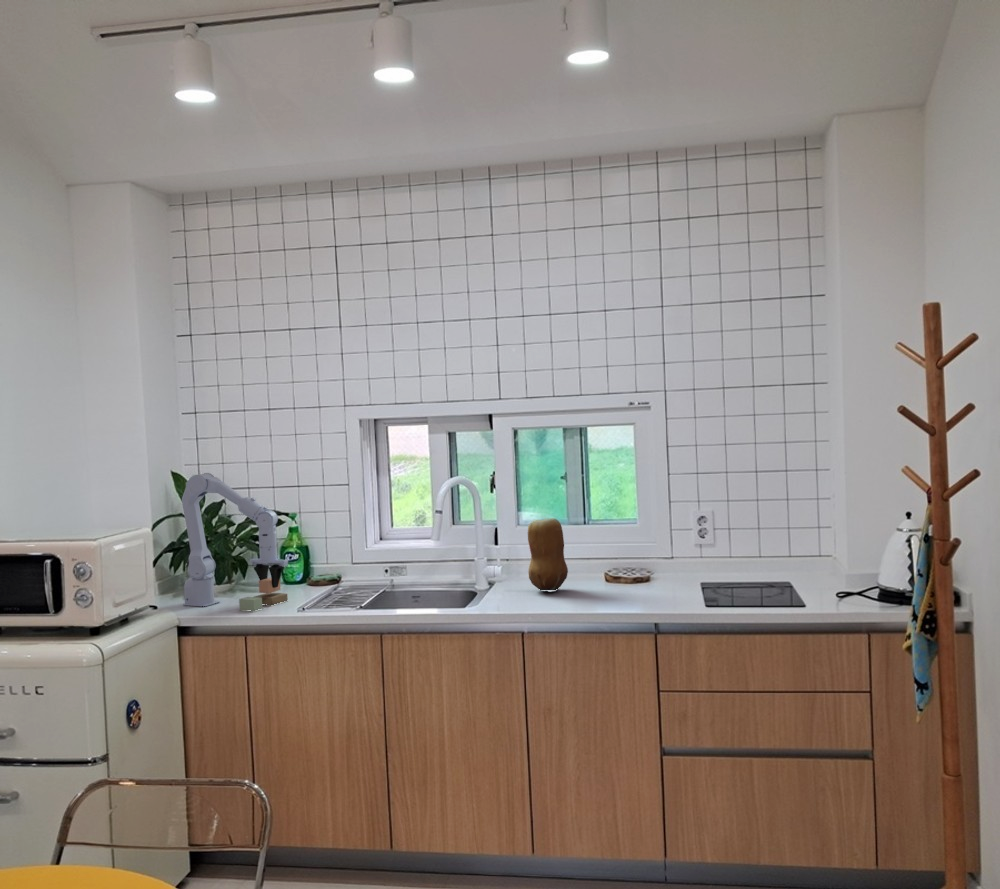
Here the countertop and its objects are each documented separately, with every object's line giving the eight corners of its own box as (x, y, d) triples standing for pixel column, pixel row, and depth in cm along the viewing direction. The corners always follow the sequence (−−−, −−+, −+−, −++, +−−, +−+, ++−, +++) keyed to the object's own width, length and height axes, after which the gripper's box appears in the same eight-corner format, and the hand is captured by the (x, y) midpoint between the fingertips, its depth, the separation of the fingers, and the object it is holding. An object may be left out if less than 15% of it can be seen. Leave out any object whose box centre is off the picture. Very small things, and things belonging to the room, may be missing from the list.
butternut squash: (529, 588, 330) (526, 516, 329) (568, 587, 329) (565, 515, 328) (528, 596, 316) (526, 521, 315) (569, 595, 315) (567, 520, 315)
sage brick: (239, 611, 309) (239, 599, 309) (247, 608, 313) (247, 596, 313) (254, 612, 307) (253, 600, 306) (262, 609, 310) (261, 597, 310)
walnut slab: (253, 605, 319) (252, 596, 319) (268, 601, 326) (268, 592, 326) (272, 607, 315) (272, 598, 315) (287, 602, 323) (287, 593, 322)
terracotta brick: (271, 589, 324) (270, 577, 324) (280, 589, 322) (279, 578, 322) (259, 592, 319) (258, 580, 318) (268, 593, 317) (268, 581, 317)
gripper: (243, 547, 320) (244, 587, 320) (277, 548, 313) (279, 590, 314) (257, 544, 326) (258, 584, 326) (291, 545, 320) (293, 586, 320)
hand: (269, 586), depth 320 cm, fingers closed on terracotta brick, 4 cm apart
